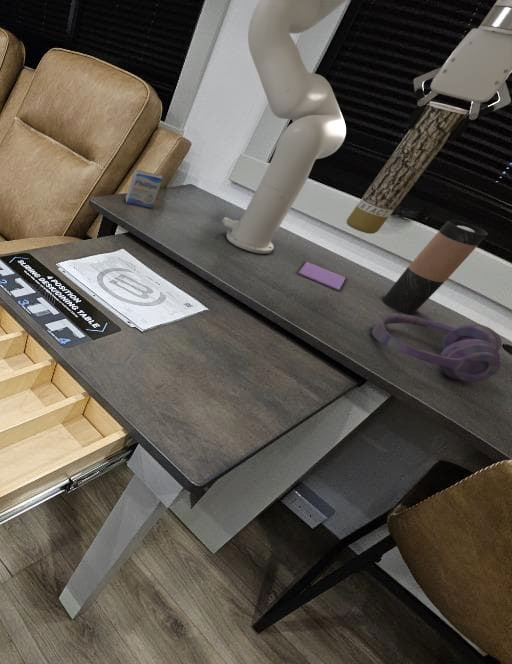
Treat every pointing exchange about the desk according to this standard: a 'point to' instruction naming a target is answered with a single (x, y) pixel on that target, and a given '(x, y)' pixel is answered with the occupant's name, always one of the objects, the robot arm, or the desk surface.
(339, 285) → the mat
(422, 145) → the paper tube
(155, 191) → the medicine box
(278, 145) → the robot arm
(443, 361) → the headphones
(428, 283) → the travel mug
